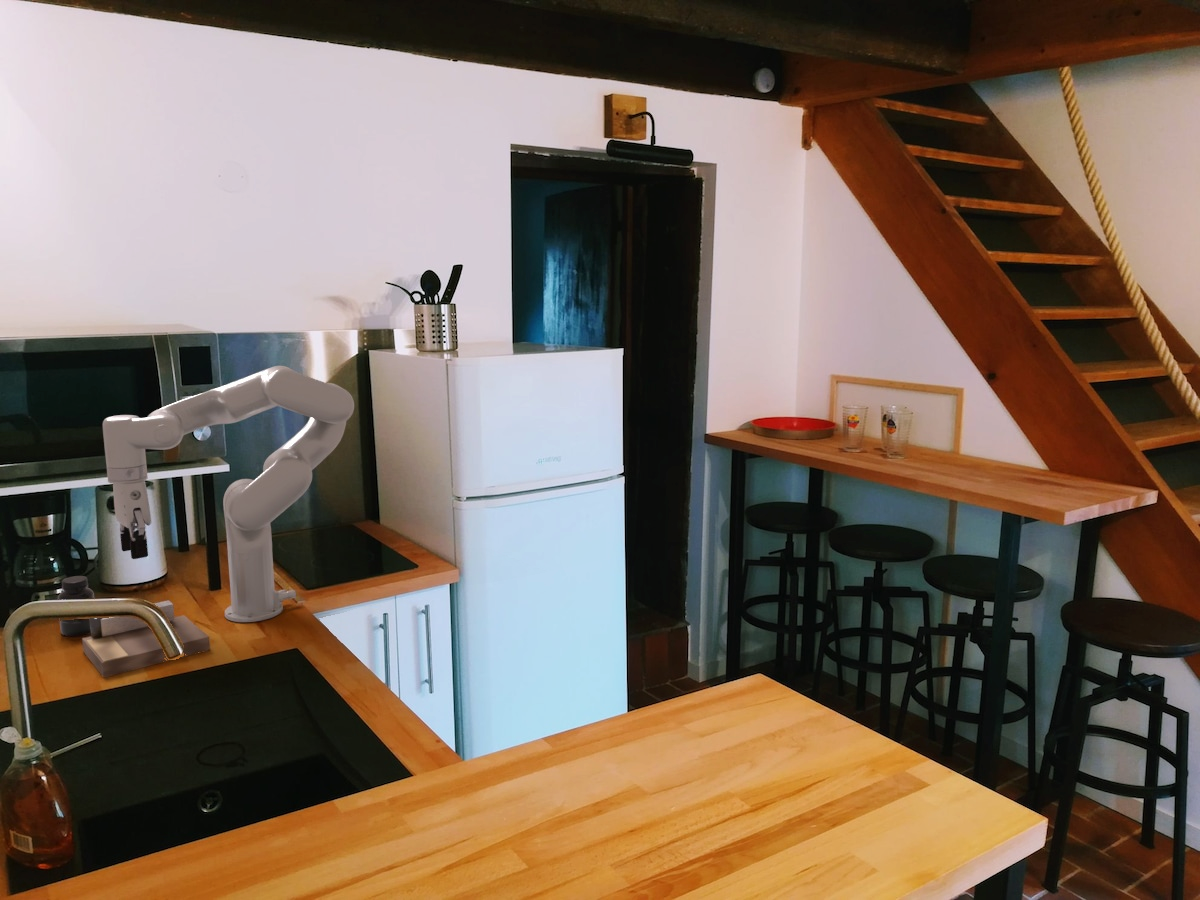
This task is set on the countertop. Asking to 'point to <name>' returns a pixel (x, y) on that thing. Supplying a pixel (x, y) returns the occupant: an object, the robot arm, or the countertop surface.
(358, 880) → the countertop surface
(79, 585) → the supplement bottle
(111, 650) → the stool seat
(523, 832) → the countertop surface
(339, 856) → the countertop surface
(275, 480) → the robot arm
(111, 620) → the stool leg
